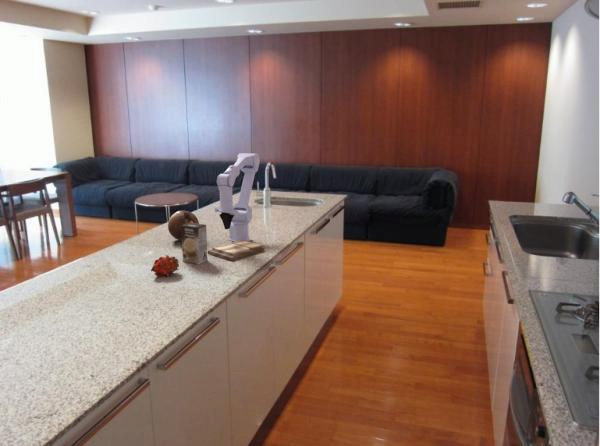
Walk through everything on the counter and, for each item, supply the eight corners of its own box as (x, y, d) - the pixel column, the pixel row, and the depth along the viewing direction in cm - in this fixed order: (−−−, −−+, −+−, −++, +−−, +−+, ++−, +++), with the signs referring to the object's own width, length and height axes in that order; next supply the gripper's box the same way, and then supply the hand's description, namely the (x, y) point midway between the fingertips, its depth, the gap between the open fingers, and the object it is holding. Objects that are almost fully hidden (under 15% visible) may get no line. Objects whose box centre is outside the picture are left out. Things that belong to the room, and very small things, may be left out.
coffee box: (182, 261, 211) (179, 225, 207) (191, 257, 217) (189, 222, 213) (199, 264, 207) (197, 227, 203) (208, 260, 213) (206, 224, 209)
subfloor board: (207, 253, 222) (207, 248, 221) (240, 244, 236) (240, 239, 236) (231, 261, 212) (231, 255, 211) (264, 250, 226) (264, 245, 226)
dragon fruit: (182, 275, 198) (155, 286, 191) (172, 260, 202) (144, 270, 195) (185, 263, 192) (156, 274, 185) (174, 247, 196) (146, 257, 189)
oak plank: (212, 250, 222) (212, 247, 222) (229, 245, 230) (229, 242, 229) (233, 256, 213) (233, 253, 213) (250, 250, 221) (250, 248, 220)
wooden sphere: (168, 237, 249) (166, 208, 245) (198, 235, 253) (196, 206, 250) (170, 245, 235) (167, 215, 231) (201, 242, 240) (200, 212, 236)
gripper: (209, 199, 227) (210, 227, 230) (230, 203, 218) (231, 232, 221) (221, 197, 232) (222, 225, 235) (242, 201, 223) (242, 230, 226)
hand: (227, 228), depth 228 cm, fingers closed
